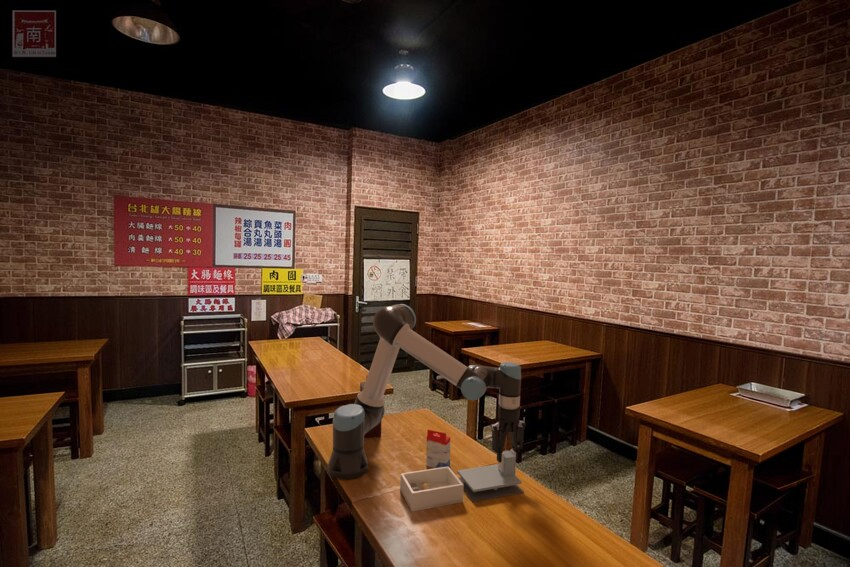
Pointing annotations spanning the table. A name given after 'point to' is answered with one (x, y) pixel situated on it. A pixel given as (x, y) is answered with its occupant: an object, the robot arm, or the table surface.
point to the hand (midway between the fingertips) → (506, 469)
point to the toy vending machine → (376, 430)
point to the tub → (431, 488)
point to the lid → (491, 475)
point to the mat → (490, 492)
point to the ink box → (437, 449)
